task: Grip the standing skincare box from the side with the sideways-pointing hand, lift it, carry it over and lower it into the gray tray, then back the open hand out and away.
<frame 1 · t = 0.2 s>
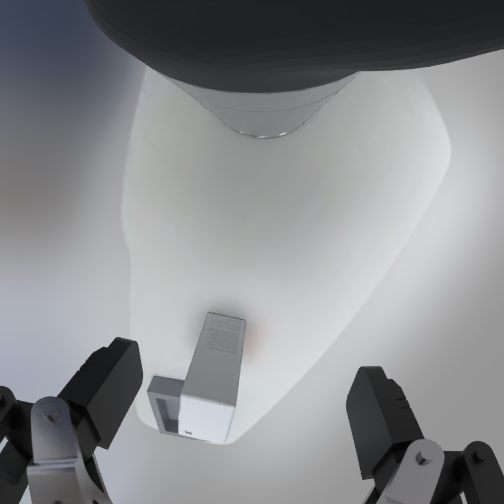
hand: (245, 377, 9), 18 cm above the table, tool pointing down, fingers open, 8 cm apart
gray tray: (189, 404, 34), on the table
skincare box: (223, 335, 30), on the table
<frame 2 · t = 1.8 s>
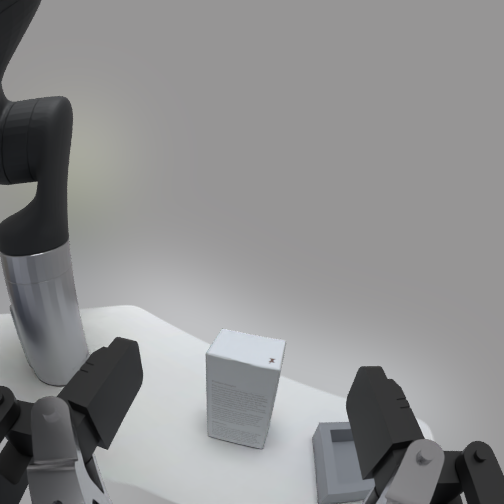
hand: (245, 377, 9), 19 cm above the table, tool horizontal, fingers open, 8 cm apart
gray tray: (361, 466, 20), on the table
skincare box: (238, 430, 26), on the table
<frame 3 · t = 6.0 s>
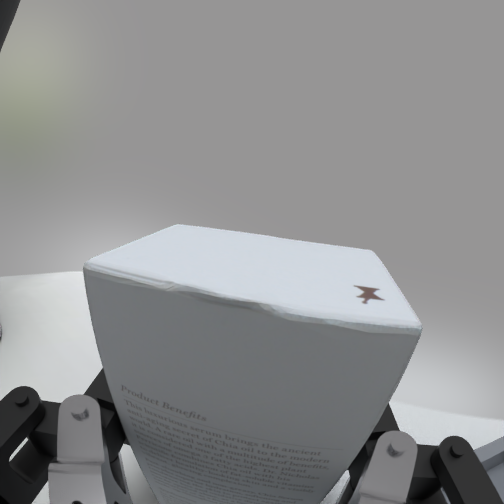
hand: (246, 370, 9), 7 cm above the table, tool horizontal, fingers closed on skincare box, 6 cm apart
skincare box: (231, 495, 9), on the table, touching gripper
when the fingers open (8 cm above the table, at t = 11.6 s): skincare box drops 1 cm, resting on gray tray.
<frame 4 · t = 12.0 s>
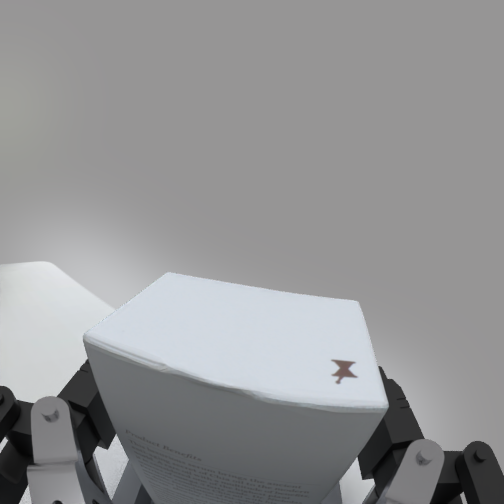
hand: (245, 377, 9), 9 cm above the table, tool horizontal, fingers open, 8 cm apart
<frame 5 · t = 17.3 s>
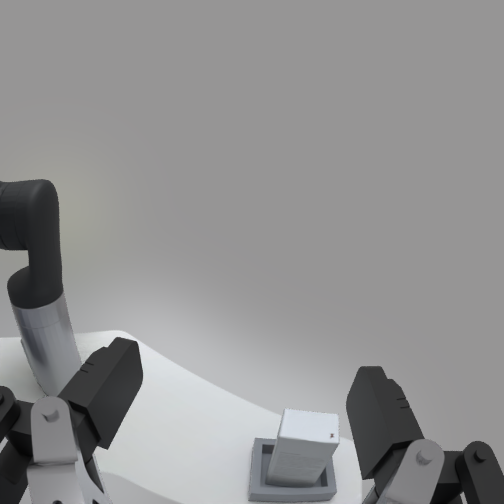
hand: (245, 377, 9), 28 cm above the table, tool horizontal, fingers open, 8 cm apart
gray tray: (289, 475, 27), on the table
skincare box: (289, 475, 27), resting on gray tray
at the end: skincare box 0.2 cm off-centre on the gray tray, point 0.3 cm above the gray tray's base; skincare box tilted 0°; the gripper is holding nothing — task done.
